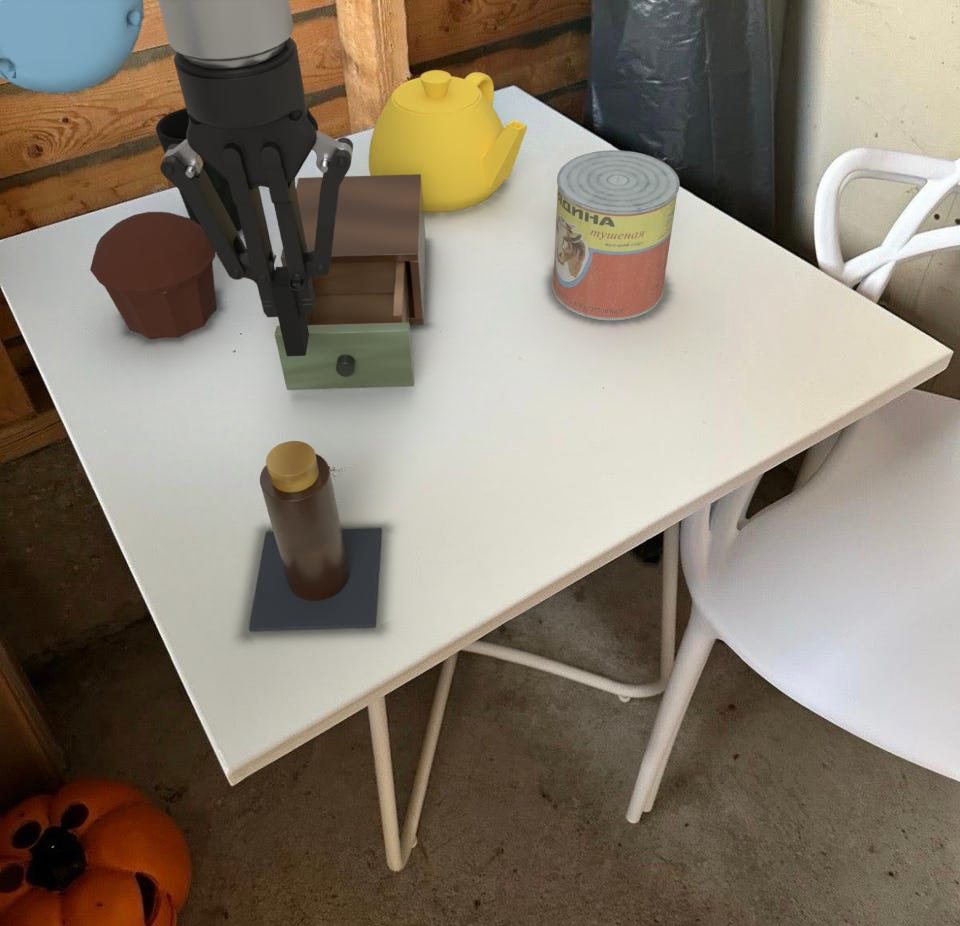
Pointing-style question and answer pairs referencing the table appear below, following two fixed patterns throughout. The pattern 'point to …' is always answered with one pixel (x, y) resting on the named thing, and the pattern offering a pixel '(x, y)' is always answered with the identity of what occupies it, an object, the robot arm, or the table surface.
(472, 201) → the teapot
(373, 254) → the cabinet
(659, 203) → the canned food
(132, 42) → the robot arm
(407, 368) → the drawer
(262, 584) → the mat
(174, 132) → the cup
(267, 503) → the bottle
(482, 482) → the table surface
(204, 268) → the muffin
